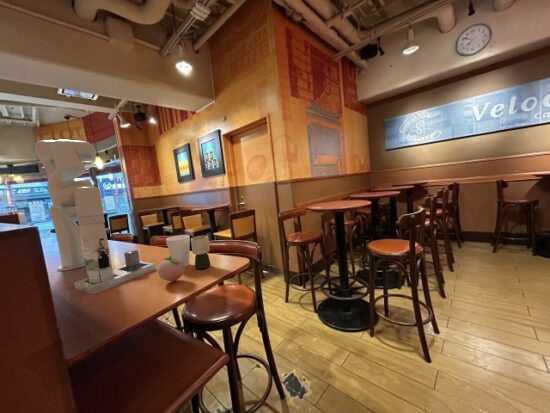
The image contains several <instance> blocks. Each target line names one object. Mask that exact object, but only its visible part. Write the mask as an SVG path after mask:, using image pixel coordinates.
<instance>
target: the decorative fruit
mask: <svg viewBox="0 0 550 413" xmlns="http://www.w3.org/2000/svg"><path fill="white" fill-rule="evenodd" d="M184 272H185V265H184V263H183V262H182V261H181V260H180V259H173V258H171V256H170V255H169V256H167V257H164V258H163V260H162V261H161V262H160V263H159V265H158V267H157V274H158V276H159V278H161V280H165V281H168V282H172V283H174V282H176V281H177V280H179V279H180V278H181V277H182V276H183V275H184Z"/></svg>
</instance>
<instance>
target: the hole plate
mask: <svg viewBox="0 0 550 413" xmlns="http://www.w3.org/2000/svg"><path fill="white" fill-rule="evenodd" d="M123 255H124V261H125V264H124V265H121V266H119V267H116V268H112V270H113V275H114V278H111V279H108V280H105V281H103V282H100V283H97V284H90V283H88V277H86V278H83V279H80V280H77V281H74V283H73V284H74V287H75V290H78V291H81V292H84V293H86V294H87V293H88V294H89V295H95V294H99V293H101V292H103V291H106V290H107V289H111V288H113V287H115V286H116V287H117V285H118V286H119V285H121V284H123V283H125V282H128V281H130V280H133V279H135V278H136V279H137V278H139V277H140V276H143V275H146V274H148V273H151V272H153V271H156V270H157V264H156V263H154V262H146V261H142V260H140V256H139V250H137V249H133V250H129V251H126V252H124V253H123ZM155 269H156V270H155ZM150 271H151V272H150Z"/></svg>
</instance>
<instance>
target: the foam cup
mask: <svg viewBox="0 0 550 413" xmlns="http://www.w3.org/2000/svg"><path fill="white" fill-rule="evenodd" d="M165 241H166V246H167V248H168V252H169V257H170V256H171V258H173V259H180V260H181V261H182V262H183V263H184V265H185V267H186V266H188V265H189V266H190V246H191V245H190V244H191V238H190V235H189V234H180V235H174V236H170V237H167V238H166V239H165ZM189 266H188V267H189ZM186 268H187V267H186Z"/></svg>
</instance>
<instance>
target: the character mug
mask: <svg viewBox="0 0 550 413" xmlns="http://www.w3.org/2000/svg"><path fill="white" fill-rule="evenodd" d="M190 244H191V250H192V254H193V255H195V256H194V258H195V259H194V268H195V269H197V270H200V269H206V268H208V267H210V266H211V261H210V257H209V252H210V250H211V247H210V240H209V236H208V235H199V236H195V237H191V238H190Z"/></svg>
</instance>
